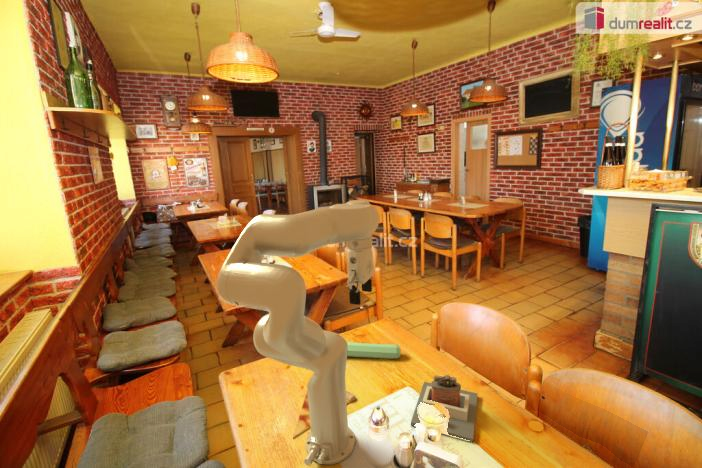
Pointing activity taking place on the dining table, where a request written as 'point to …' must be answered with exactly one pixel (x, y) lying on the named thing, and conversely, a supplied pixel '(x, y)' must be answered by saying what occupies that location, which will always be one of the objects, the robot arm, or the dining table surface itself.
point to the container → (373, 350)
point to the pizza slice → (305, 417)
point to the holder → (453, 412)
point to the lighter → (446, 390)
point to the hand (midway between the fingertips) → (361, 297)
